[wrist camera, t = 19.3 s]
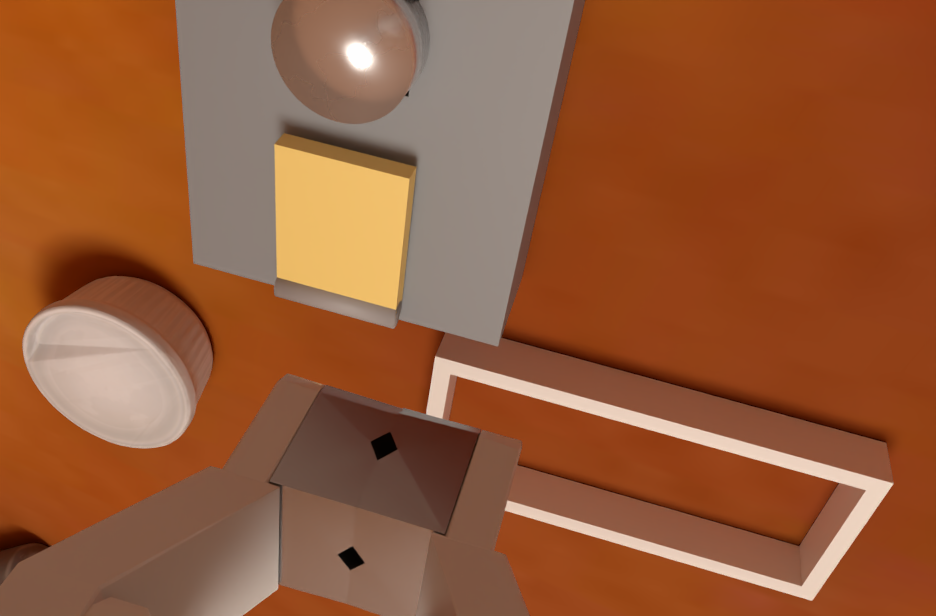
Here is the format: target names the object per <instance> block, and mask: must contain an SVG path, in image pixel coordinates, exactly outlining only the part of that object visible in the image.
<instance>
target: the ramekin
mask: <svg viewBox="0 0 936 616" xmlns="http://www.w3.org/2000/svg"><path fill="white" fill-rule="evenodd" d="M22 347H23V355H24V360H25V363H26V366H27V369H28V371H29V373H30V375H31V377H32V379H33V381H34V383H35V384H36V386H37V387H38V389H39V390H40V391H41V393H42V394H43V395H44V396H45V397H46V399H47V400H48V401H49V402H50V403H51V404H52V405H53V406H54V407H55V408H56V409H57V410H58V411H59V412H60V413H62V414H63V415H64V416H65V417H67V418H68V419H69V420H70V421H72V422H73V423H75V424H76V425H77V426H79V427H81V428H82V429H84V430H86V431H87V432H89V433H91V434H93V435H95V436H97V437H99V438H101V439H104V440H106V441H109V442H112V443H115V444H118V445H121V446H127V447H133V448H156V447H161V446H165V445H168V444H170V443H172V442H173V441H175V440H177V439H178V438H179V437H180V436H181V435H182V434H183V433H184V431H185V430H186V429H187V427H188V426H189V424H190V423H191V421H192V419H193V417H194V414H195V410H196V404H197V402H198V400H199V398H200V396H201V394H202V392H203V390H204V387H205V385H206V383H207V381H208V379H209V377H210V373H211V370H212V363H213V352H212V349H211V343H210V340H209V337H208V334H207V332H206V330H205V328H204V326H203V324H202V323H201V321H200V320H199V318H198V317H197V315H196V314H195V313H194V312H193V311H192V310H191V309H190V308H189V307H188V306H187V305H186V304H185V303H184V302H183V301H182V300H181V299H179V298H178V297H177V296H176V295H174V294H173V293H171V292H170V291H168V290H166V289H165V288H163V287H161V286H159V285H157V284H155V283H152V282H150V281H147V280H143V279H140V278H135V277H127V276H110V277H104V278H100V279H96V280H94V281H93V282H90V283H88V284H86V285H85V286H83V287H81V288H80V289H78V290H77V291H75V292H73V293H72V294H70V295H69V296H67V297H66V298H64V299H63V300H60V301H57V302H54V303H52V304H49V305H48V306H46V307H45V308H43V309H42V310H41V311H40V312H39V313H37V314H36V315H35V316H34V317H33V318H32V320H31V321H30V322H29V324H28V326H27V327H26V330H25V332H24V336H23V346H22Z"/></svg>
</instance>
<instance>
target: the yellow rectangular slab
mask: <svg viewBox="0 0 936 616" xmlns="http://www.w3.org/2000/svg"><path fill="white" fill-rule="evenodd" d="M274 149H275V203H276V257H277V278H276V281H275V286H274V294H275V296H277V297H280V298H284V299H287V300H291V301H295V302H298V303H302V304H306V305H309V306H313V307H316V308H320V309H324V310H327V311H331V312H335V313H338V314H342V315H345V316H349V317H353V318H356V319H360V320H364V321H367V322H371V323H375V324H378V325H382V326H385V327H389V328H393V329H394V328H395V327H396V325H397V322H398V320H399V316H400V313H401V308H402V297H403V287H404V278H405V269H406V260H407V250H408V241H409V232H410V222H411V213H412V204H413V195H414V185H415V176H416V167H415V166H411V165H407V164H403V163H399V162H395V161H392V160H388V159H384V158H380V157H376V156H372V155H368V154H364V153H360V152H356V151H352V150H348V149H345V148H341V147H337V146H333V145H329V144H325V143H321V142H317V141H313V140H309V139H305V138H301V137H298V136H294V135H290V134H286V133H284V134H283V135H282V136H281V137H280V138H279V139H278V141H277V142H276V143H275V144H274Z"/></svg>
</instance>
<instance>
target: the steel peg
mask: <svg viewBox="0 0 936 616" xmlns="http://www.w3.org/2000/svg"><path fill="white" fill-rule="evenodd" d="M271 48H272V54H273V58H274V61H275V64H276V67H277V69H278V72H279V74H280V76H281V78H282V79H283V81H284V83H285V84H286V86H287V87H288V89H289V90H290V91H291V92H292V93H293V95H294V96H295V97H296V98H297V99H298V100H299V101H300V102H301V103H302V104H304V105H305V106H306V107H308V108H309V109H310V110H312V111H313V112H315V113H317V114H318V115H320V116H322V117H325V118H327V119H329V120H333V121H336V122H340V123H345V124H363V123H368V122H372V121H375V120H378V119H380V118H382V117H384V116H386V115H387V114H388V113H390V112H391V111H392V110H394V108H395V107H396V106H397V105H398V104H399V103H400V102H401V100H402V99H403V98H404V96H405V95H406V94H407V92H408V91H409V89H410V88H411V87H412V85H413V84H414V83H415V81H416V80H417V79H418V77H419V76H420V74H421V73H422V71H423V69H424V67H425V65H426V62H427V59H428V54H429V48H430V35H429V27H428V22H427V19H426V16H425V13H424V11H423V8H422V6H421V4H420V2H419V0H283V1H282V2H281V3H280V5H279V7H278V9H277V11H276V13H275V16H274V19H273V23H272V28H271Z"/></svg>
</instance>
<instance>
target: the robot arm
mask: <svg viewBox="0 0 936 616" xmlns="http://www.w3.org/2000/svg"><path fill="white" fill-rule="evenodd" d="M521 449H522V441H520V440H517V439H513V438H509V437H506V436H502V435H499V434H495V433H491V432H488V431H484V430H482V432H481V429H478V428H474V427H470V426H467V425H463V424H459V423H456V422H452V421H449V420H445V419H441V418H438V417H434V416H430V415H427V414H423V413H419V412H416V411H412V410H409V409H405V408H403V409H402V408H398V407H395V406H392V405H389V404H386V403H382V402H379V401H376V400H373V399H370V398H366V397H363V396H360V395H357V394H354V393H350V392H347V391H344V390H341V389H338V388H334V387H331V386H328V385H323V384H319V383H316V382H313V381H310V380H307V379H303V378H300V377H297V376H294V375H291V374H286V375H285V376H284V377H283V378H281V379H280V380H279V381H278V382H277V383H276V385H275V386H274V388H273V390H272V391H271V393H270V394H269V396H268V397H267V399H266V401H265V402H264V404H263V405H262V407H261V409H260V410H259V412H258V413H257V415H256V416H255V418H254V420H253V421H252V423H251V424H250V426H249V428H248V429H247V431H246V432H245V434H244V435H243V437H242V439H241V440H240V442H239V443H238V445H237V447H236V448H235V450H234V451H233V453H232V455H231V456H230V458H229V459H228V461H227V462H226V464H225V466H224V467H223V469H220V468H216V467H212V466H210V467H208V468H206V469H204V470H202V471H200V472H198V473H196V474H194V475H192V476H190V477H188V478H186V479H184V480H182V481H180V482H178V483H176V484H174V485H172V486H170V487H168V488H166V489H164V490H162V491H160V492H158V493H156V494H154V495H152V496H150V497H148V498H146V499H144V500H142V501H140V502H138V503H136V504H134V505H132V506H130V507H128V508H126V509H124V510H122V511H120V512H118V513H116V514H114V515H112V516H110V517H108V518H106V519H104V520H102V521H100V522H98V523H96V524H94V525H92V526H90V527H88V528H86V529H84V530H82V531H81V532H79V533H77V534H75V535H73V536H71V537H69V538H67V539H65V540H63V541H61V542H59V543H57V544H55V545H53V546H51V547H49V548H47V549H45V550H43V551H41V552H39V553H37V554H35V555H33V556H31V557H29V558H27V559H25V560H23V561H21V562H19V563H18V564H17V565H16V566H15V568H14V569H13V570H12V572H11V573H10V574H9V575H8V577H7V578H6V579H5V580H4V582H3V583H2V584H1V585H0V616H243V615H244V614H245V613H247V612H248V611H249V610H251V609H252V608H253V607H255V606H256V605H257V604H259V603H260V602H261V601H263V600H264V599H265V598H267V597H268V596H269V595H271V594H272V593H273V592H275V591H276V590H277V589H278V584H279V585H282V586H286V587H290V588H293V589H297V590H300V591H304V592H307V593H311V594H314V595H318V596H321V597H325V598H329V599H332V600H336V601H339V602H343V603H346V604H349V605H352V606H355V607H358V608H361V609H364V610H367V611H370V612H373V613H376V614H378V615H381V616H530V615H529V613H528V610H527V607H526V605H525V602H524V600H523V597H522V595H521V592H520V589H519V587H518V584H517V582H516V579H515V577H514V574H513V572H512V569H511V566H510V564H509V561H508V559H507V556H506V555H505V554H502V553H499V552H496V551H494V548H495V545H496V541H497V537H498V533H499V530H500V526H501V522H502V519H503V515H504V511H505V508H506V504H507V500H508V497H509V493H510V489H511V486H512V482H513V478H514V475H515V471H516V467H517V464H518V460H519V456H520V453H521Z"/></svg>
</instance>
